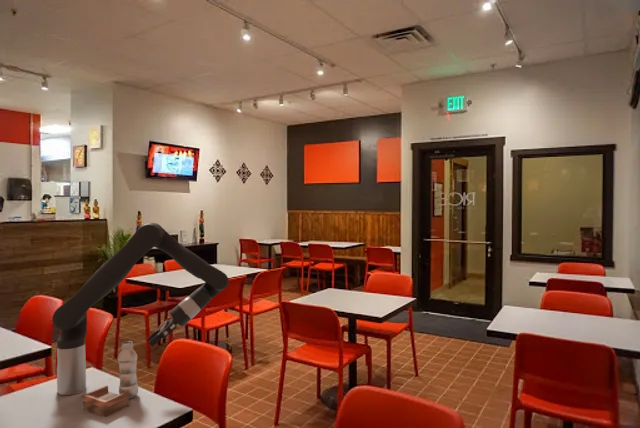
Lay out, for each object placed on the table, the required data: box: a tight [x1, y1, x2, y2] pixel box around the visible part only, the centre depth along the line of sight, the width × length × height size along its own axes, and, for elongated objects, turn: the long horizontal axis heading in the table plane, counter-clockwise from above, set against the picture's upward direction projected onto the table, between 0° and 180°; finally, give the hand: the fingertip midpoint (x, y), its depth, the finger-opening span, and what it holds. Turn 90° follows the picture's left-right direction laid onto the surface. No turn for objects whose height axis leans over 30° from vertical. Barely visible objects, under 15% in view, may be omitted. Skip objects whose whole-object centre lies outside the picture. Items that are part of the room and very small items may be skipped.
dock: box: [82, 384, 130, 418], centre depth 151 cm, size 12×9×5 cm
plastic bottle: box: [117, 340, 139, 399], centre depth 160 cm, size 6×7×20 cm
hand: (149, 342), depth 160 cm, fingers open, 8 cm apart
